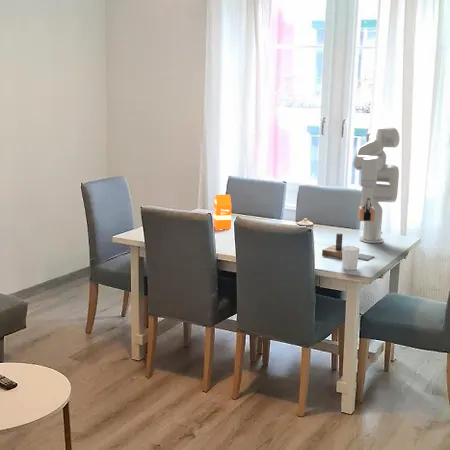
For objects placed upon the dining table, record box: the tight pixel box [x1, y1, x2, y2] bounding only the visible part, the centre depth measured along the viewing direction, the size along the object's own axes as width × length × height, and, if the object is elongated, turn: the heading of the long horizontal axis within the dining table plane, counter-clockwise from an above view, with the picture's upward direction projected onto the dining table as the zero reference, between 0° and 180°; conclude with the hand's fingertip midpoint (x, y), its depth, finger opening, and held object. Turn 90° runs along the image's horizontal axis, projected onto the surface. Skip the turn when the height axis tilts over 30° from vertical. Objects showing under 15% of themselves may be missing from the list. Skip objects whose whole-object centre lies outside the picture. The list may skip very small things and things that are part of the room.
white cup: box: [341, 245, 360, 271], centre depth 326 cm, size 8×8×10 cm
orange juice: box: [213, 194, 233, 231], centre depth 401 cm, size 8×9×20 cm
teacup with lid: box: [296, 217, 314, 230], centre depth 382 cm, size 12×9×12 cm
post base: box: [321, 233, 343, 260], centre depth 349 cm, size 12×12×11 cm
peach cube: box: [357, 205, 375, 222], centre depth 341 cm, size 7×7×7 cm
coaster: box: [358, 253, 375, 261], centre depth 346 cm, size 8×8×1 cm
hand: (366, 218), depth 342 cm, fingers closed on peach cube, 7 cm apart
